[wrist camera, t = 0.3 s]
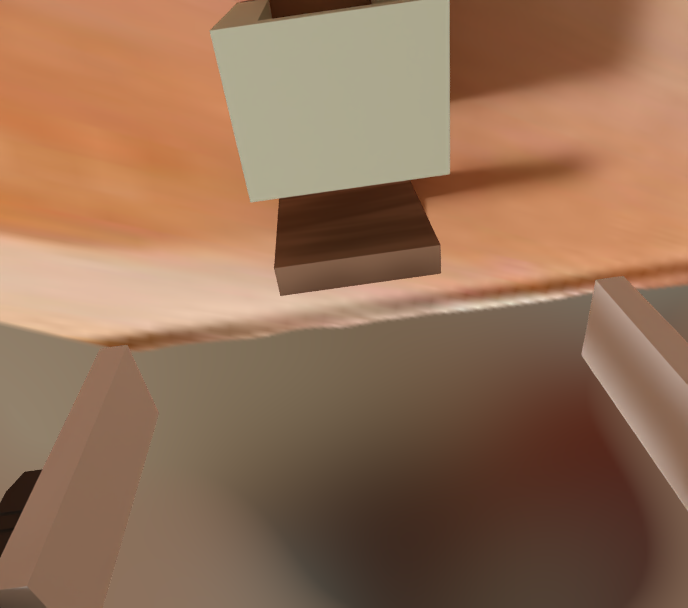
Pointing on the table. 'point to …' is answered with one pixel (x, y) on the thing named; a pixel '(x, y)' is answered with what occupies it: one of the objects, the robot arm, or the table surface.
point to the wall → (353, 238)
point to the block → (337, 94)
